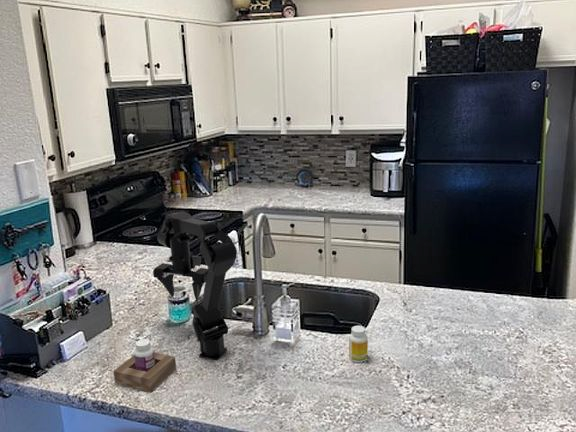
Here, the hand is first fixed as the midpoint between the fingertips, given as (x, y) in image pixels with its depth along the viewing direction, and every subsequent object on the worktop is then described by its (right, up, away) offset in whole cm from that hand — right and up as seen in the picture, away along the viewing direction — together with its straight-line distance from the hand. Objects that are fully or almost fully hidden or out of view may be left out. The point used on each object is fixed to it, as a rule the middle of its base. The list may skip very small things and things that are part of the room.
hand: (184, 297), depth 167 cm
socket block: (-7, -19, -19) cm, 28 cm away
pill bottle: (-7, -18, -19) cm, 28 cm away
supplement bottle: (+54, -16, -14) cm, 58 cm away
